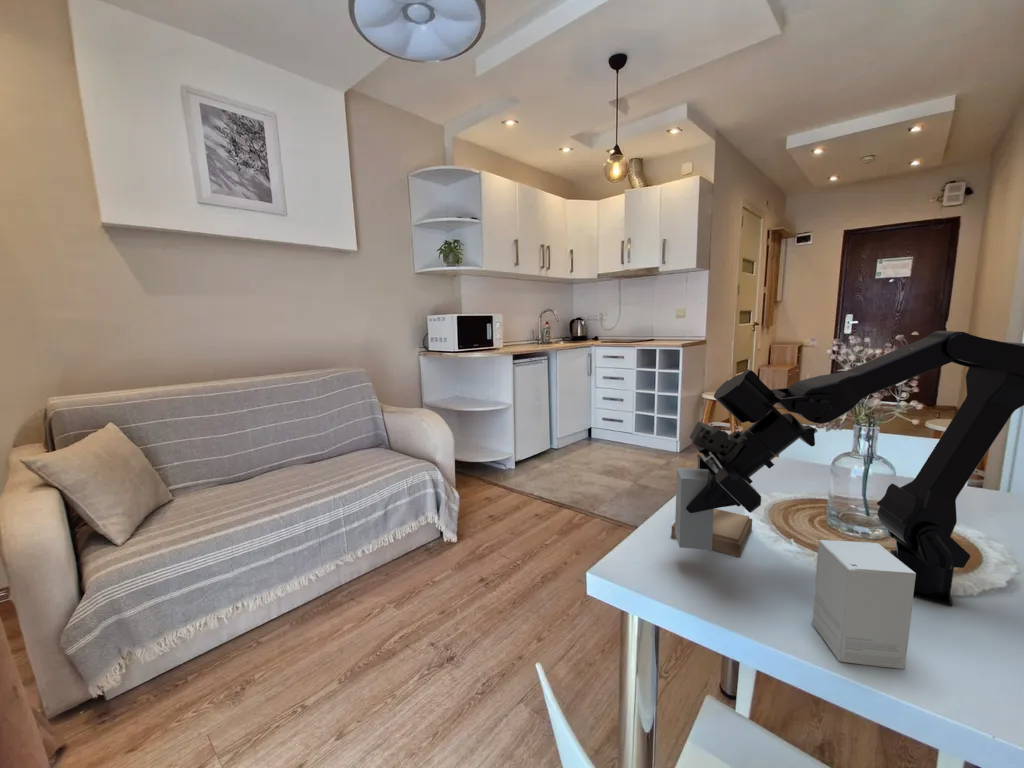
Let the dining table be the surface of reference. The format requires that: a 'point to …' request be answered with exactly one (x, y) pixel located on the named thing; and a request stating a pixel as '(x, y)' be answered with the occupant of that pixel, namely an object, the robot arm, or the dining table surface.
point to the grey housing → (692, 526)
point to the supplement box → (863, 603)
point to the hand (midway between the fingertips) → (685, 503)
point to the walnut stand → (728, 532)
